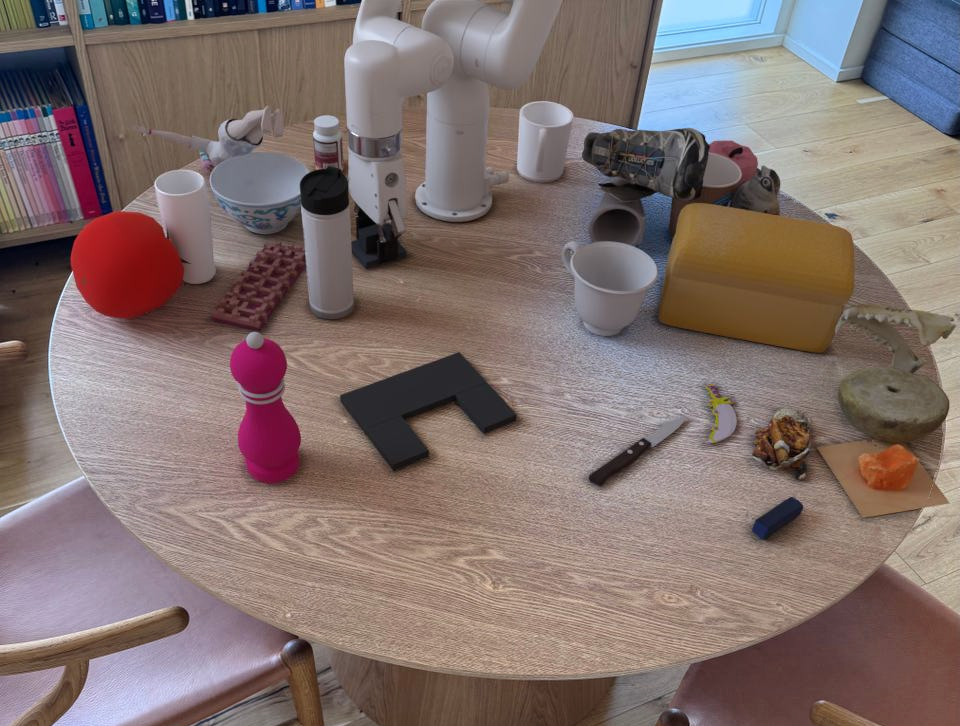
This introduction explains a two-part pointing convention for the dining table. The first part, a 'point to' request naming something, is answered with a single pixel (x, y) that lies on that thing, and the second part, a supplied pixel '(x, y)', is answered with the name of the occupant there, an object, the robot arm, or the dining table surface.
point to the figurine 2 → (758, 193)
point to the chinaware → (259, 189)
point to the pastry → (784, 442)
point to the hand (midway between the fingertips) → (376, 248)
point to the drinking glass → (188, 221)
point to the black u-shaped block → (423, 406)
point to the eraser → (777, 518)
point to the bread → (757, 277)
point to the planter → (618, 219)
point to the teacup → (608, 283)
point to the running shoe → (649, 162)
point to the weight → (892, 404)
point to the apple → (737, 157)
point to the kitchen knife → (634, 452)
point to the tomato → (126, 265)
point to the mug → (543, 140)
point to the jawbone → (887, 334)
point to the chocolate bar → (261, 287)
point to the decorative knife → (721, 416)
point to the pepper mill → (265, 410)
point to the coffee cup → (710, 187)
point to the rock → (882, 477)
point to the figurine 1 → (229, 136)
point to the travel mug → (327, 242)
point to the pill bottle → (327, 143)
